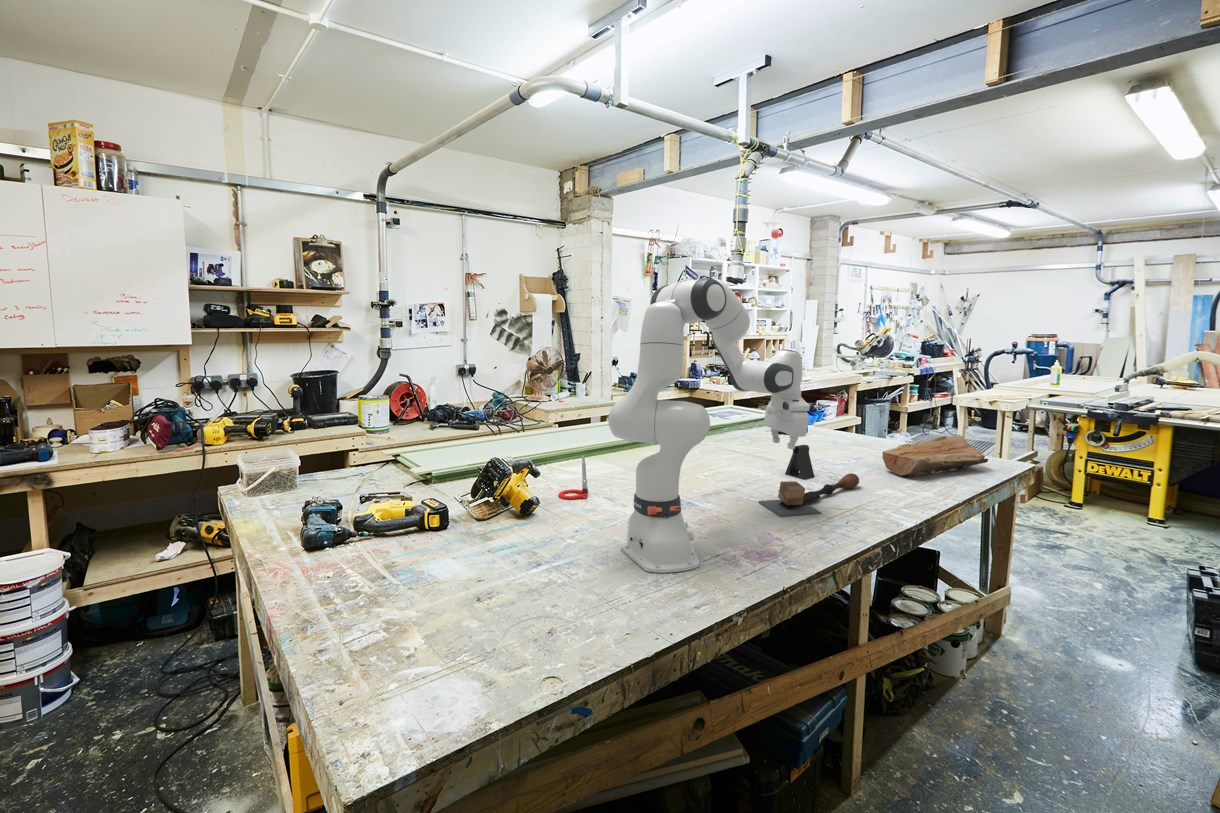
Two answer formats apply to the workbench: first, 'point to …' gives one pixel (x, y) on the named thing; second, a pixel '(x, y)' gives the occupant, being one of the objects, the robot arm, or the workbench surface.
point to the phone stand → (800, 463)
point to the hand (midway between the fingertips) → (783, 445)
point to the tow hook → (582, 493)
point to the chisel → (827, 490)
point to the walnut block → (791, 493)
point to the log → (932, 456)
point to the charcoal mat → (784, 512)
